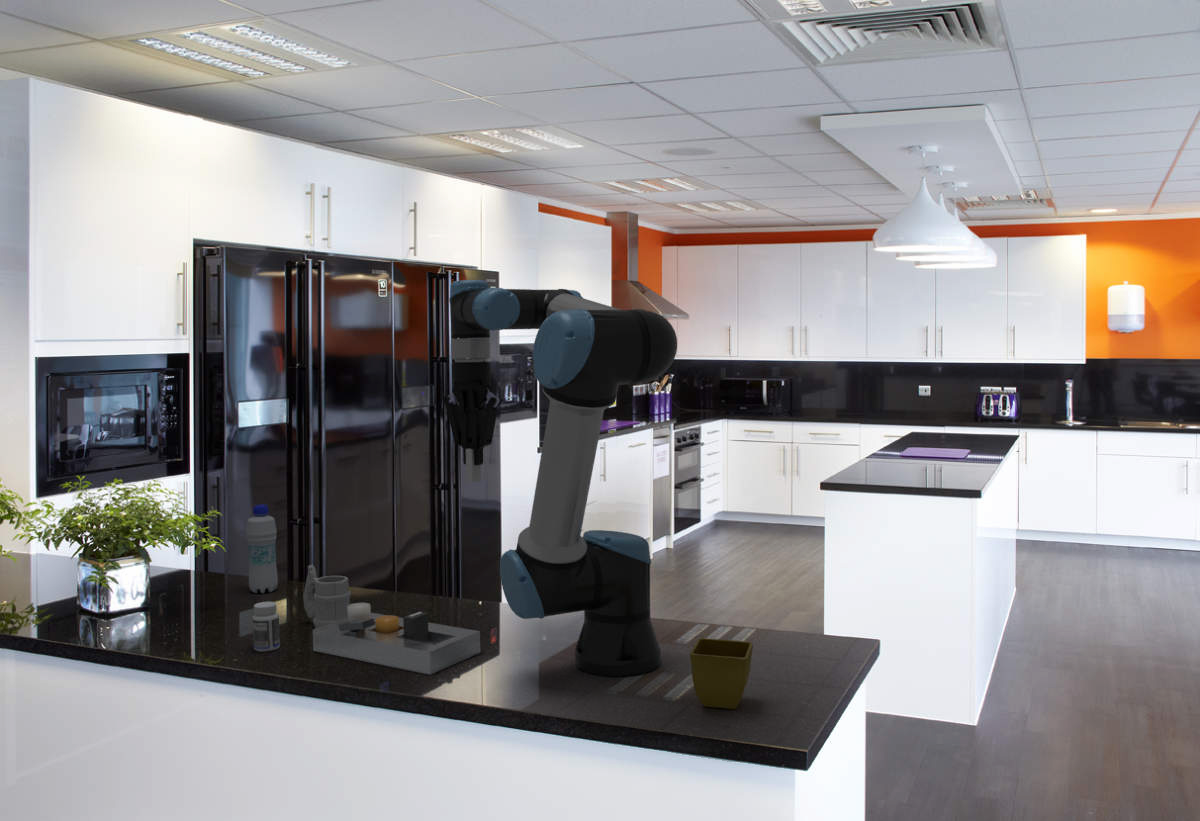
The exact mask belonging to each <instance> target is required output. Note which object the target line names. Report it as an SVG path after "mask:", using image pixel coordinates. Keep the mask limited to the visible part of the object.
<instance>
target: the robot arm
mask: <svg viewBox="0 0 1200 821" xmlns="http://www.w3.org/2000/svg"><path fill="white" fill-rule="evenodd" d="M449 289H450V290H449V291H450V292H449V299H448V300H449V307H450V308H449V309H450V311H449V312H450V336H451V337H450V355H451V357H450V358H451V359H452V360H454V362H452V364H451V380H452V381H453V387H452V389H451V390H452V392H451V393H450V394H448V395H444V396H443V397H442V401H443V404H444V406H445V408H446V410H447V414H448V416H447V417H448V420H449V424H450V429H451V434H452V439H453V443H454V444H455V445H458V446H460V447H462V460H463V461H462V462H463V465H465V472H466V473H465V478H466V481H465V482H466V483H477V482H481V481H482V470H481V468H482V467H481V465H483V464H484V448H485V447H487V446H490V445H492V443H493V438H494V432H495V426H496V421H497V416H498V411H499V407H500V405H501V403H502V402H503V398H502V397H501V396H497V395H495V394H494V393H493V392H492V387H491V385H490V381H491V378H492V366H491V365H492V364H491V362H490V361H488V359H490V358H491V334H490V333H491V331H502V330H507V331H508V330H538V331H537V333H536V336H535V339H534V342H533V348H532V360H533V361H534V362H533V365H532V368H533V371H534V372H533V373H534V375H535V376H534V377H535V378H536V379H537V382H538V383H539V384H540V385H541V386H542V392H543V394H544V395H545V396H546V397H547V399H548V400H549V404H548V412H547V417H546V424H545V430H544V434H543V435H544V437H543V442H542V447H541V453H540V460H539V465H538V466H539V467H538V470H537V478H536V484H535V490H534V496H533V503H532V509H531V512H530V513H531V515H530V520H529V525H528V526H527V527H525V528H524V529H523V530H521V532H520V533H519V534H518V536H517V537H518V538H517V544H516V549H509V550H507V551H505V552H503V554H502V555H501V557H500V560H499V561H500V562H499V574H500V583H501V587H502V590H503V595H504V597H505V600H506V602H507V605H508V606H509V608H510V610H511V611H512V612H513V613H514V615H516V616H517V617H518V618H521V619H524V620H527V619H528V620H529V619H530V620H531V619H538V618H539V619H544V618H545V617H552V616H557V615H564V614H571V613H577V612H584V616H583V618H584V619H583V624H582V627H581V630H580V634H579V636H578V640H577V643H576V647H575V649H574V650H575V651H574V663H575V666H576V667H577V668H578V669H579V670H581V671H583V672H586V673H590V674H593V675H600V676H609V677H611V676H612V677H613V676H614V677H625V676H635V675H640V674H644V673H645V674H646V673H649V672H651V671H653V670H655V669H657V668H659V667H660V666H661V661H662V659H661V658H662V657H661V655H662V654H661V653H662V652H661V648H660V645H659V642H658V638H657V635H656V632H655V630H654V627H653V624H652V620H651V564H652V561H651V553H650V545H649V542H648V540H646V539H645V538H644V537H643V536H641V535H637V534H635V533H629V532H623V531H616V530H615V531H614V530H605V529H603V530H602V529H601V530H600V529H597V530H596V529H592V530H587V531H585V532H583V535H582V534H581V533H582V529H583V524H584V518H585V514H586V508H587V503H588V497H589V492H590V487H591V480H592V475H593V470H594V465H595V460H596V454H597V449H598V444H599V438H600V434H601V428H602V423H603V417H604V412H605V410H607V409H609V408H610V407H612V406H613V405H615V402H616V400H617V396H618V390H619V386H623V385H637V384H638V385H640V384H645V383H648V382H651V381H654V380H656V379H657V378H659V377H661V376H662V375H663V374H664V373H666V372H667V371H668V369H669V368H670V367H671V365H673V362H674V360H675V358H676V356H677V352H678V350H677V349H678V338H677V334H676V330H675V328H674V327H673V325H672V324H671V323H670V322H669V320H668V319H667V318H666V317H664V316H663V315H661V314H659V313H657V312H653V311H651V310H646V309H641V308H633V309H621V308H617V307H613V306H610V305H607V304H603V303H601V302H598V301H597V302H596V301H593V300H590V299H587V298H584V297H583V296H582V295H581V293H580V291H579V290H578V291H577V290H575V289H568V288H567V289H565V288H558V289H529V288H528V289H526V288H525V289H522V288H521V289H520V288H519V289H517V288H503V287H490V286H489V283H488V282H487V281H486V280H478V279H477V280H475V279H473V280H472V279H471V280H470V279H469V280H464V279H463V280H455V281H452V283H451V284H450V288H449ZM581 535H582V536H581Z"/></svg>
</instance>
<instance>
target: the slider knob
mask: <svg viewBox="0 0 1200 821" xmlns="http://www.w3.org/2000/svg"><path fill="white" fill-rule="evenodd" d="M402 618H403V626H404V637H406V638H411V639H417V640H422V641H429V634H428V622H429V613H428V612H422V611H417V612H414V613H411V614H408V615H406V616H402Z"/></svg>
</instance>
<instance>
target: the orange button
mask: <svg viewBox="0 0 1200 821" xmlns="http://www.w3.org/2000/svg"><path fill="white" fill-rule="evenodd" d="M386 615H387V614H386ZM399 618H400V617H399V616H397V615H387V616H380V617H377V618H376V632H379V633H384V634H391V633H393V632H396V631H399Z"/></svg>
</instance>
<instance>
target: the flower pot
mask: <svg viewBox="0 0 1200 821" xmlns="http://www.w3.org/2000/svg"><path fill="white" fill-rule="evenodd" d="M753 646H754V643H753V642H751V641H743V640H733V639H732V640H730V639H720V638H718V639H717V638H714V639H713V638H704V637H703V638H700V637H699V638H698V639H697V640H696V643H695V644H694V646H693V648H692V649H691V651H690V653H689V655H690V657H689V658H690V665H691V675H692V684H693V687H694V691H695V694H696V696H697V698H698V700H699V702H700V703H701V705H702V706H703V707H707V708H716V709H719V708H720V709H728V710H735V709H737V708H738V706H739V703H740V701H741V699H742V698H743V695H744V691H745V688H746V686H747V684H748V680H749V677H750V676H749V675H750V671H751V665H752V664H751V662H752V654H753Z"/></svg>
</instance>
